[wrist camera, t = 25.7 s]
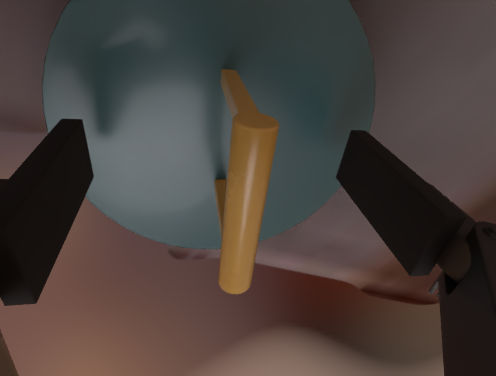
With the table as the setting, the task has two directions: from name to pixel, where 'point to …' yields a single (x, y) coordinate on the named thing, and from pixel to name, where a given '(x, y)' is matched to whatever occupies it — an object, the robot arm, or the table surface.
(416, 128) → the table surface
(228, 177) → the tin lid
